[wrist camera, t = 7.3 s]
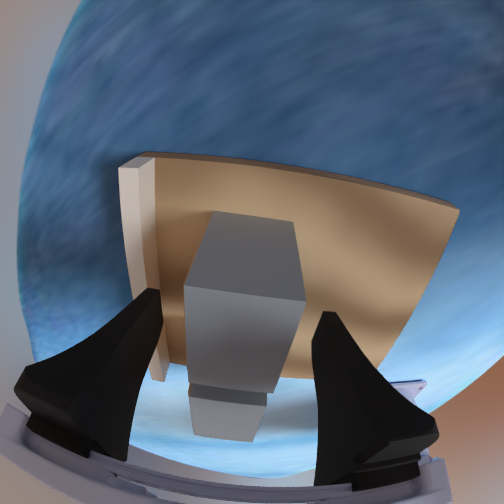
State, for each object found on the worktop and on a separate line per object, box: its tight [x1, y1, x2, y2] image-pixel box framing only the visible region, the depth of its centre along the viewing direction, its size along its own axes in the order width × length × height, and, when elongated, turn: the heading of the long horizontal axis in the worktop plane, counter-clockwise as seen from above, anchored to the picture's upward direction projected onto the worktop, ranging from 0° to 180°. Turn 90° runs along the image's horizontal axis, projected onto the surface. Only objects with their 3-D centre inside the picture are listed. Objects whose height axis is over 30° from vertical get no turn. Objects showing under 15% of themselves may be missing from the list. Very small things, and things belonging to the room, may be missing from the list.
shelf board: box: [137, 152, 460, 379], centre depth 18 cm, size 16×18×1 cm
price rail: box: [118, 157, 170, 382], centre depth 16 cm, size 16×1×2 cm, turn 173°
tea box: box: [183, 211, 307, 393], centre depth 13 cm, size 6×4×6 cm
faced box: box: [188, 383, 267, 442], centre depth 17 cm, size 6×4×6 cm
